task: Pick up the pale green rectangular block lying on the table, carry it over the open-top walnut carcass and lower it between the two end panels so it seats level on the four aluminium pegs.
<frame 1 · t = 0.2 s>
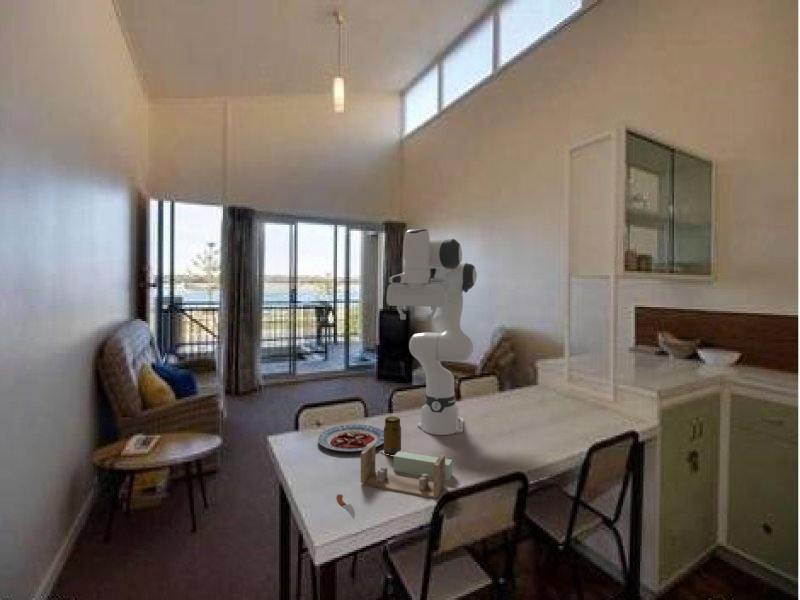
hand: (416, 320, 142), 47 cm above the table, fingers open, 8 cm apart
condiment: (393, 453, 151), on the table
carcass: (402, 485, 128), on the table
ceramic plate: (352, 442, 161), on the table
knife: (347, 507, 116), on the table
pale green rectangular block: (422, 473, 136), on the table
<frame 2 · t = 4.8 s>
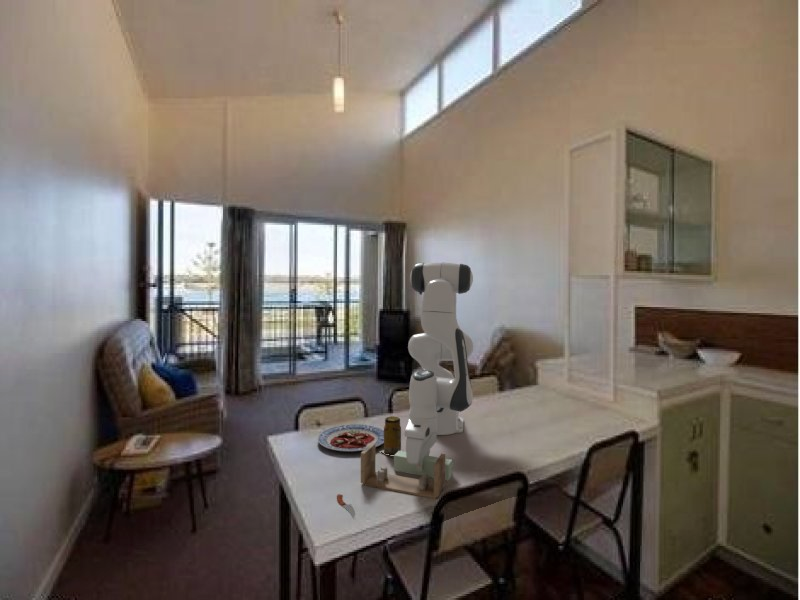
hand: (422, 466, 136), 2 cm above the table, fingers closed on pale green rectangular block, 4 cm apart
pale green rectangular block: (422, 473, 136), on the table, touching gripper
everything else where it was.
when the fingers open (6 cm above the table, at t = 9.9 s): pale green rectangular block stays where it is, resting on carcass.
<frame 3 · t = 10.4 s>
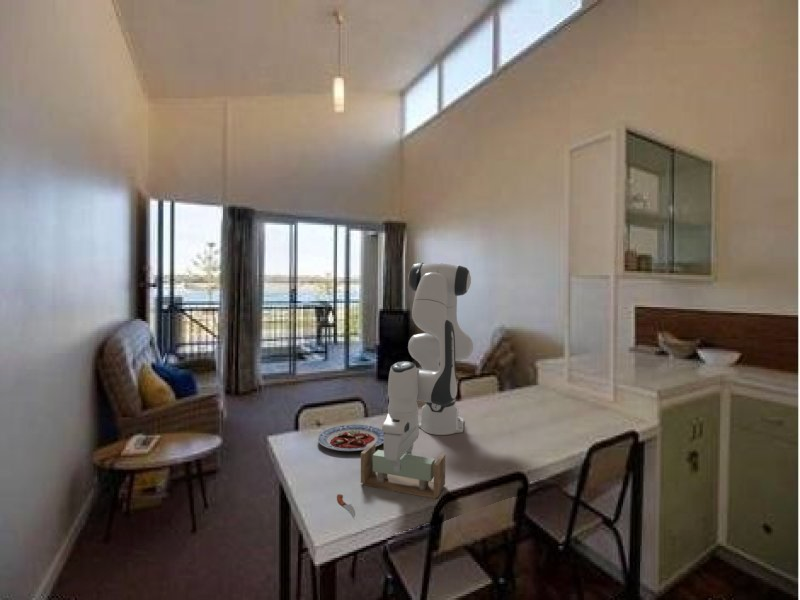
hand: (402, 464, 127), 6 cm above the table, fingers open, 8 cm apart
pale green rectangular block: (403, 473, 127), point 4 cm above the table, touching carcass
everything else where it was.
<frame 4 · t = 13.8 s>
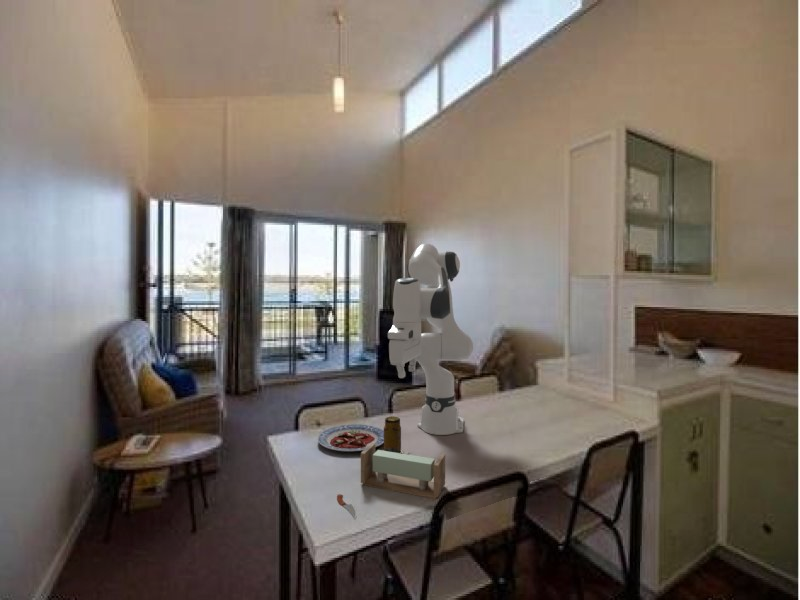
hand: (406, 374, 135), 31 cm above the table, fingers open, 8 cm apart
nothing on the table moved.
at the end: pale green rectangular block 0.1 cm off-centre on the carcass, point 3.6 cm above the carcass's base; pale green rectangular block tilted 0°; the gripper is holding nothing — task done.
